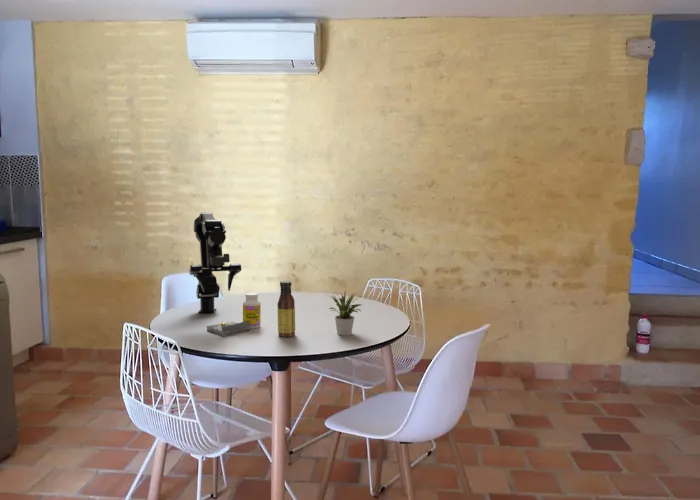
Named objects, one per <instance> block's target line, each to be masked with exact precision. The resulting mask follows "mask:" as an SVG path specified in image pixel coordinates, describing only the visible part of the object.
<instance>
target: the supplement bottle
mask: <svg viewBox="0 0 700 500" xmlns="http://www.w3.org/2000/svg"><path fill="white" fill-rule="evenodd" d="M258 298H259V293H257V292H247V293H245V300H244V301H243V302H242V322H245V321H249V330H250V329H251V330H252V329H253V330H254V329H257V328H260V327H261V309H262V308H261V301H260V300H259V299H258Z"/></svg>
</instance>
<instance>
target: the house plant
mask: <svg viewBox="0 0 700 500" xmlns="http://www.w3.org/2000/svg"><path fill="white" fill-rule="evenodd" d="M346 294H347V289H346V290H345V291H344V293H343V294H342V293H341V297H340V296H339V295H337V297H338V298H337V297H336V296H335V295H334V294H332V295H331V296H330V298H331V299H332V300H333V301H334V303H335V304H336V306H337V307H338V310H337V309H336V308H335V307H332V306H331V307H329V308H328V310H330V312H334V311H335V312H337V313H338V314H337V315H336V316H335V317H334V319H335V326H336V333H337V335H338V336H351V335H352V333H353V332H352V331H353V327H354V321H355V316H353V315H351V314H353V313H354V312H355V313H357V314H359V312H360V313H363V312H362V309H359V308H357V307H361V306H362V304H361V303H360V304H358V303H357V304H352V303H354V302H355V301H356V300H357V299H359V298H361V297H363V296H358V297H357V298H354V297H355V295H356V292H353V293H351V294H350V295H349V296H348V297H347V296H346ZM326 296H328V297H329V295H327V294H326ZM346 297H347V299H346ZM351 302H352V303H351ZM358 311H359V312H358Z"/></svg>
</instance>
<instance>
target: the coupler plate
mask: <svg viewBox="0 0 700 500" xmlns="http://www.w3.org/2000/svg"><path fill="white" fill-rule="evenodd" d="M206 331H208V332H211V333H214V334H216V335H219V336H221V337H226V336H231V335H236V334H241V333H245V332H249V331H250V329H249V321H245V322H243V321H241V322H235V321H227V322H221V323H217V324H213V325H207V326H206Z"/></svg>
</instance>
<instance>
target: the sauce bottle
mask: <svg viewBox="0 0 700 500" xmlns="http://www.w3.org/2000/svg"><path fill="white" fill-rule="evenodd" d="M292 285H293V284H292V281H291V280H281V281H280V282H279V286H280V295H279V298H278V301H277V332H278V336H279V337H282V338H283V337H284V338H291V337H294V336H295V335H296V306H295V302H296V301H295V298H294V296H293V295H292Z"/></svg>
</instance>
